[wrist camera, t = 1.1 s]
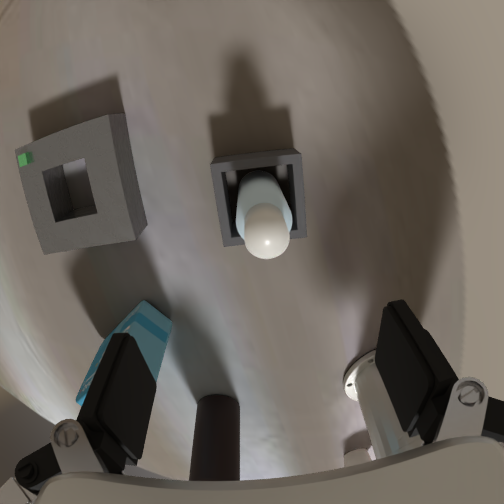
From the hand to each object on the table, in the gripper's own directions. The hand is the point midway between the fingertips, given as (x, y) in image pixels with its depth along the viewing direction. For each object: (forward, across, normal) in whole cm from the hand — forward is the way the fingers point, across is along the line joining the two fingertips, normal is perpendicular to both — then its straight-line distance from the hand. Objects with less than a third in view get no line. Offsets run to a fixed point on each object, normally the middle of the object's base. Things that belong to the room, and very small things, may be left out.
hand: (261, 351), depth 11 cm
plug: (+21, -1, 0) cm, 21 cm away
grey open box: (+21, -1, 0) cm, 21 cm away
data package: (+22, +17, +16) cm, 32 cm away
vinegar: (+21, +9, +33) cm, 40 cm away
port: (+22, +17, -4) cm, 28 cm away
